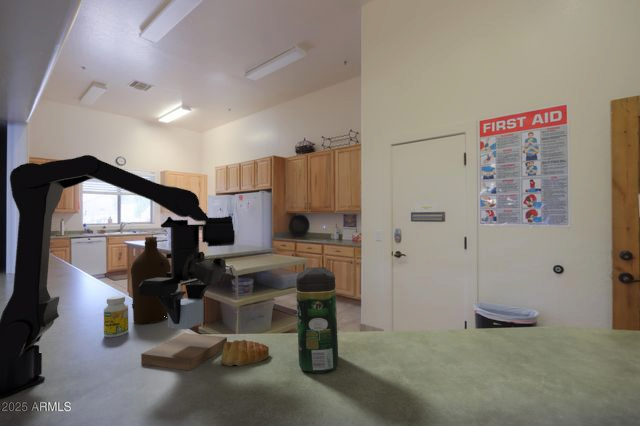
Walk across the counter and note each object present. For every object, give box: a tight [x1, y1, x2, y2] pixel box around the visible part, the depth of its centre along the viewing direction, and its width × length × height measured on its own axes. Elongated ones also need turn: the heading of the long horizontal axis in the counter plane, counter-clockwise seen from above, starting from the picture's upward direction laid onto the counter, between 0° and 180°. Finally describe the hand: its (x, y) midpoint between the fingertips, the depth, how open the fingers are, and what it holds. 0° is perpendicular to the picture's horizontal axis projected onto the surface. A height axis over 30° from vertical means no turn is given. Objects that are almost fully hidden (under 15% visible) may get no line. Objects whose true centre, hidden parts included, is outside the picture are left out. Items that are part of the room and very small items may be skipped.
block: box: [167, 297, 204, 330], centre depth 66 cm, size 5×5×5 cm
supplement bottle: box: [103, 295, 129, 338], centre depth 80 cm, size 5×5×10 cm
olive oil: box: [130, 236, 171, 325], centre depth 92 cm, size 11×11×25 cm
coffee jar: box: [295, 266, 339, 374], centre depth 60 cm, size 10×8×19 cm
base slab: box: [140, 332, 228, 372], centre depth 65 cm, size 12×12×2 cm
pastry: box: [220, 339, 270, 367], centre depth 62 cm, size 9×7×4 cm
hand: (185, 320), depth 66 cm, fingers closed on block, 5 cm apart
